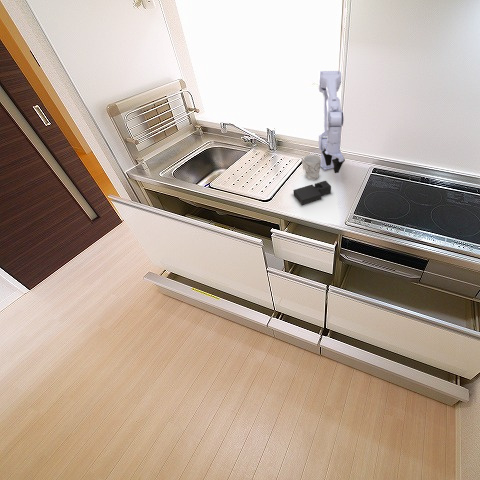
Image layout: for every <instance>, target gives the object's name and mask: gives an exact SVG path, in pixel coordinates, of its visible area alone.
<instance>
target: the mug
mask: <svg viewBox="0 0 480 480" xmlns="http://www.w3.org/2000/svg"><path fill="white" fill-rule="evenodd" d="M301 165H302V169H303V170H304V172H305V176H306V178H307V179H308V180H313V181H314V180H317V179H318V178H319V177H320V172H321V166H320V165H321V156H320V155H317V154H307V155H305V156H304V157H303V158H302V159H301Z"/></svg>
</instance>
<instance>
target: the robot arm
mask: <svg viewBox="0 0 480 480" xmlns="http://www.w3.org/2000/svg"><path fill="white" fill-rule="evenodd" d="M317 76H318V77H317V78H318V91H319V92H320V93H322V96H323V130H322V131H321V132H320V133H319V134H318V150H319V151H320V158H321V165H320V168H322V169H323V170H324V171H327V170H330V169H333V172H334V174H339V173H340V170H341V168H342V166H343V164H344V163H345V162H346V159H345V157H344V156H343V153H342V152H341V138H342V127H344V121H345V119H344V118H345V116H344V111H343V109H342V107H341V99H340V98H339V97H338V94H337V93H338V92H339V90H340V88H341V84H342V72H341V71H340V70H319V71H318V75H317Z"/></svg>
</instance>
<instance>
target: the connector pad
mask: <svg viewBox="0 0 480 480" xmlns="http://www.w3.org/2000/svg"><path fill="white" fill-rule="evenodd" d="M314 187H315V188H317V187H320V188H319V192H320V193H321V198H322V197H325V196H327V195H331V194H332V186H331V184H330V183H329V182H328V181H327V180H321V181H319V182H316V183H314Z"/></svg>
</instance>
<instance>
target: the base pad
mask: <svg viewBox="0 0 480 480" xmlns="http://www.w3.org/2000/svg"><path fill="white" fill-rule="evenodd" d="M319 188H320V187H317V188H315V185H313V184H309V185H305V186H302V187H299V188H296V189H293V196H294V198H295V199H296V200H297V201H298V203H299V204H300V205H301V206H306V205H308V204H312V203H314V202H317V201H321V200H322V197H321V193H320V192H319Z"/></svg>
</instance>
